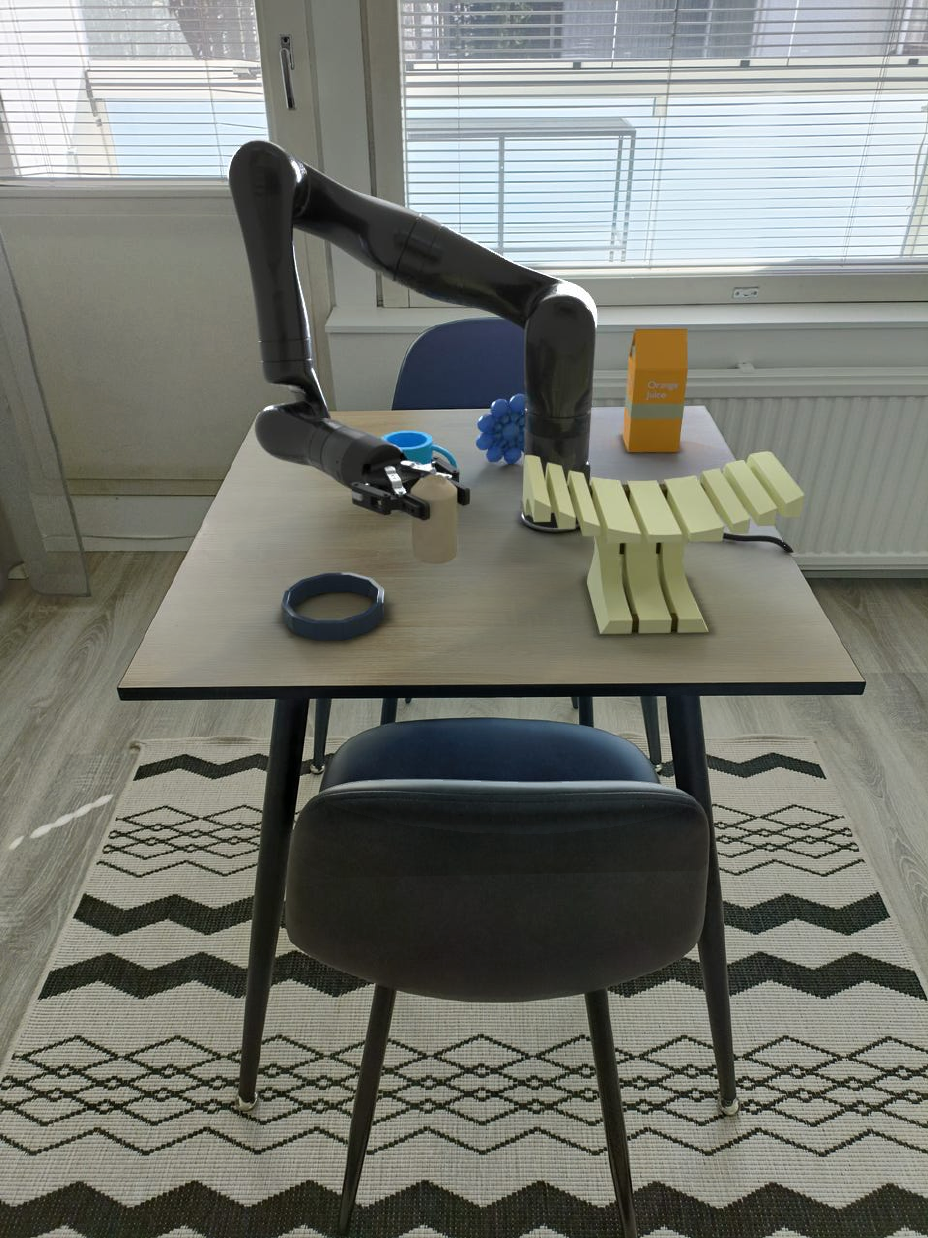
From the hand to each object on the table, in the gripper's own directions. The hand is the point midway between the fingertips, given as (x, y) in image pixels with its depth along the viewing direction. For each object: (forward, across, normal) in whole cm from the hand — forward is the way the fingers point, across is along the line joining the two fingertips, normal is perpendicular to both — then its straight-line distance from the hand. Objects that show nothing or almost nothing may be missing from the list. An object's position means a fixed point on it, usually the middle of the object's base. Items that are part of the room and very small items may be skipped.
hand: (447, 504), depth 113 cm
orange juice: (-20, +63, +15) cm, 68 cm away
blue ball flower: (-31, +40, +15) cm, 52 cm away
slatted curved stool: (+15, +20, +14) cm, 29 cm away
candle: (-3, 0, +8) cm, 8 cm away
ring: (-9, -11, +15) cm, 21 cm away
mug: (-32, +21, +15) cm, 41 cm away
